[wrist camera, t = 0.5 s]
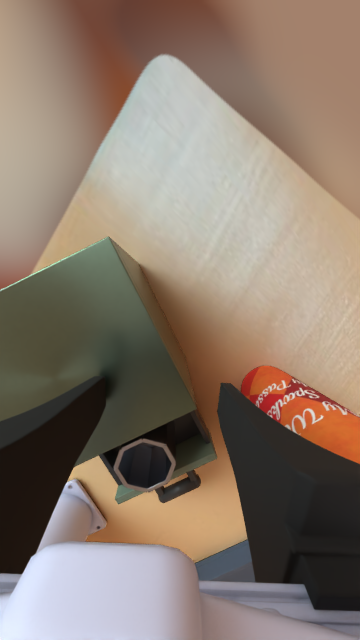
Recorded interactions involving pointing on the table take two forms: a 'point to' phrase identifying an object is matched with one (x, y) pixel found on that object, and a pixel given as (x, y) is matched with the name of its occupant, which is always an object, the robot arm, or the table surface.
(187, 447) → the drawer
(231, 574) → the tray
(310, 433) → the coffee cup
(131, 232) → the table surface
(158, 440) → the faceted metal cup
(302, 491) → the robot arm
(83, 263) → the cabinet
